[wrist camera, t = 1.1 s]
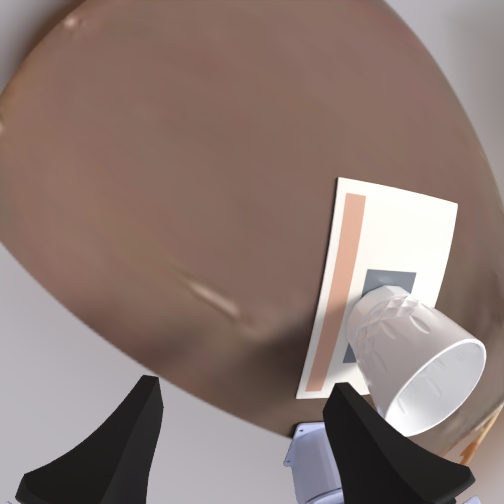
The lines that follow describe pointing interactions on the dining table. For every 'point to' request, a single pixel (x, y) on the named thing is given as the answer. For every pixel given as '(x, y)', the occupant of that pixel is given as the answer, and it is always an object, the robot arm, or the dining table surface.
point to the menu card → (372, 269)
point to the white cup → (412, 358)
